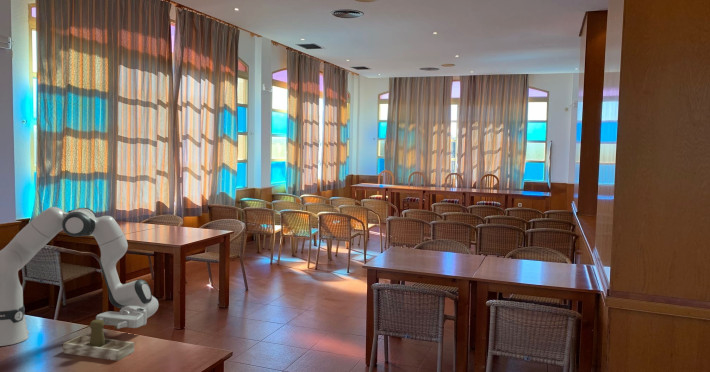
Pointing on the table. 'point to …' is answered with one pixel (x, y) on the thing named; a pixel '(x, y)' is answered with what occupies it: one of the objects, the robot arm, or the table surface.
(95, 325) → the cork
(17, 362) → the table surface
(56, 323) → the table surface
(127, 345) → the divided tray
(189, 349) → the table surface
